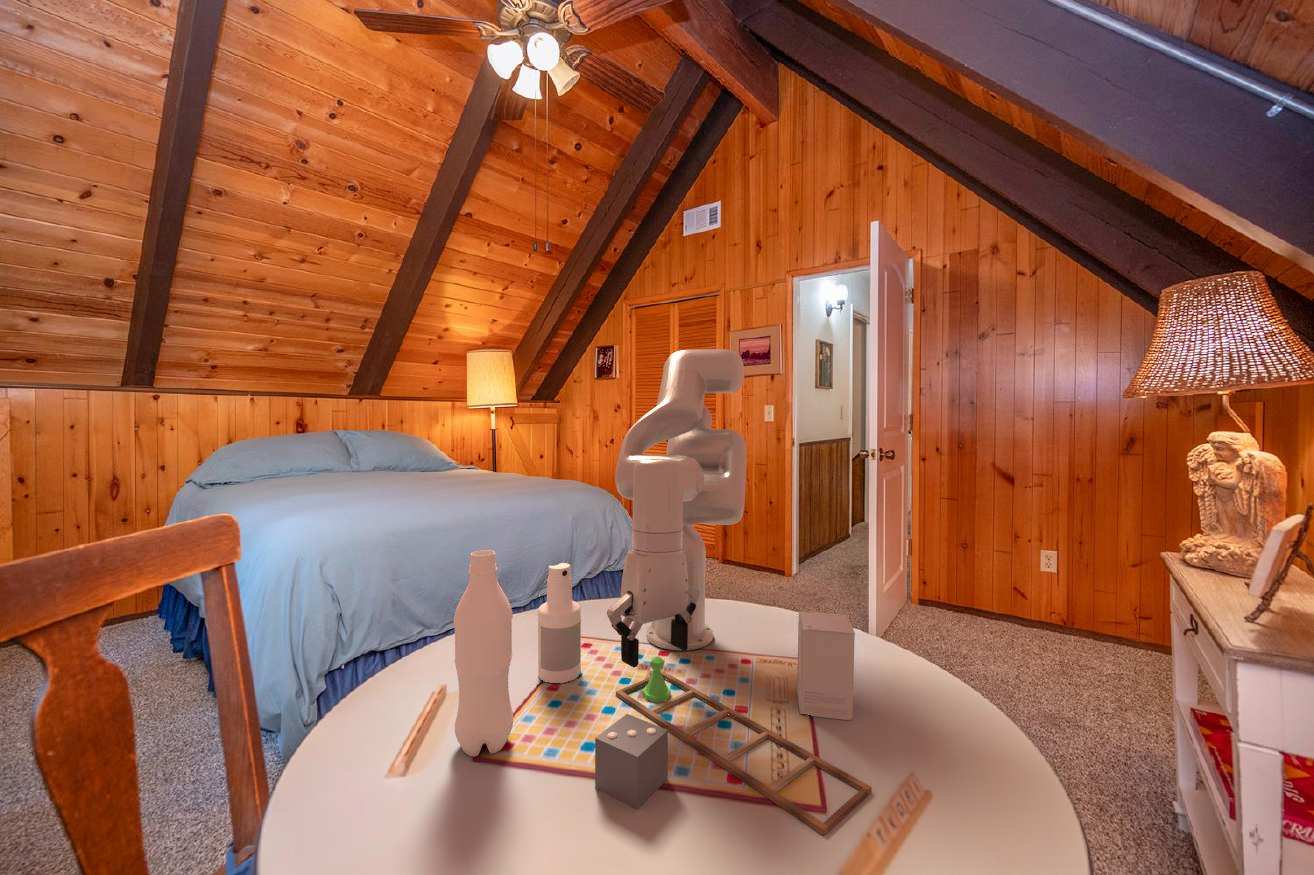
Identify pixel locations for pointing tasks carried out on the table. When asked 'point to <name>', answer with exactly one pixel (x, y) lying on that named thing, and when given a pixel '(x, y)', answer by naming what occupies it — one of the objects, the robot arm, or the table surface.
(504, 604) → the water bottle
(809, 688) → the supplement box
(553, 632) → the spray bottle
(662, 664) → the game piece
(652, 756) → the die
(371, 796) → the table surface
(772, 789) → the track board
